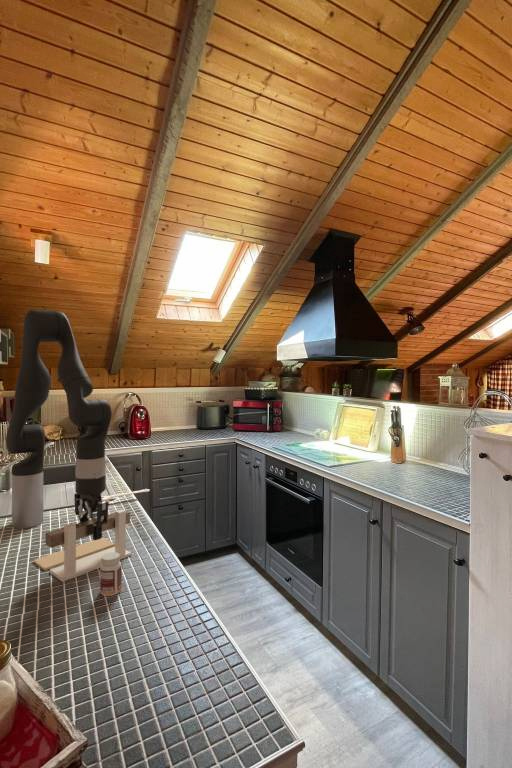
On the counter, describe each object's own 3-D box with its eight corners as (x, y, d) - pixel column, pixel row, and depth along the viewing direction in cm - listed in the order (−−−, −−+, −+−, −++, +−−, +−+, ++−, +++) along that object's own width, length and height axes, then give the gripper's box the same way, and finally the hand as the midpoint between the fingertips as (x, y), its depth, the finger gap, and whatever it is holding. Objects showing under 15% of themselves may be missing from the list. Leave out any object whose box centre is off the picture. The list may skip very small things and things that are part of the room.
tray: (33, 562, 107) (33, 560, 107) (103, 539, 123) (103, 537, 123) (44, 570, 103) (44, 568, 103) (115, 545, 118) (115, 543, 118)
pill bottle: (114, 583, 97) (114, 549, 97) (125, 590, 94) (125, 555, 94) (95, 591, 93) (96, 556, 93) (106, 599, 90) (107, 562, 90)
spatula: (146, 494, 168) (146, 487, 168) (152, 497, 164) (152, 490, 164) (75, 507, 151) (75, 499, 151) (79, 511, 147) (79, 503, 147)
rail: (45, 544, 100) (45, 532, 100) (124, 520, 117) (124, 510, 117) (50, 547, 98) (50, 535, 98) (130, 522, 115) (130, 512, 115)
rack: (49, 572, 102) (49, 522, 102) (117, 548, 117) (117, 504, 116) (62, 581, 97) (62, 529, 97) (131, 555, 112) (131, 510, 112)
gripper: (64, 471, 109) (64, 532, 109) (90, 481, 99) (90, 547, 100) (90, 467, 114) (90, 525, 115) (118, 475, 105) (118, 538, 106)
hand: (90, 535), depth 107 cm, fingers open, 6 cm apart
